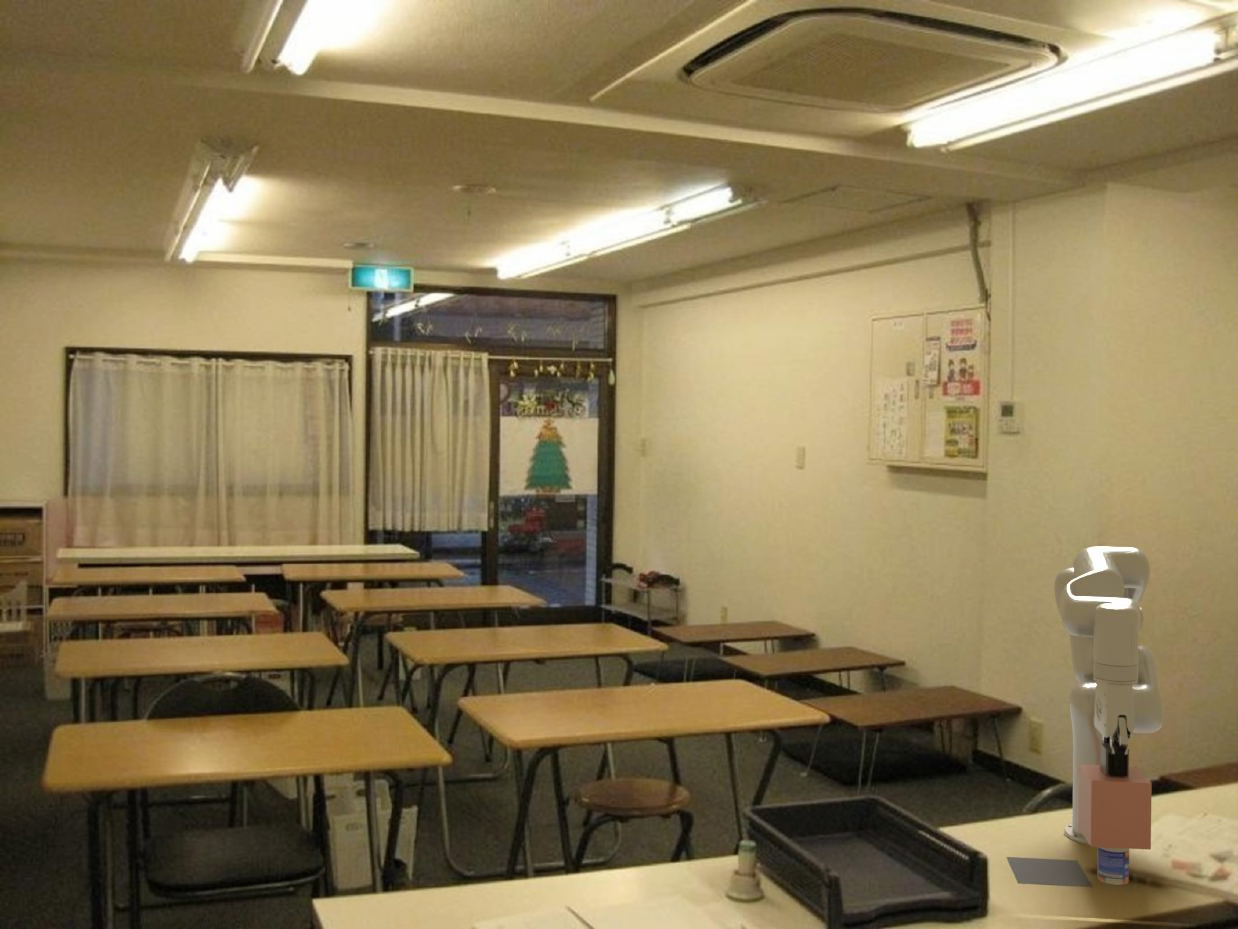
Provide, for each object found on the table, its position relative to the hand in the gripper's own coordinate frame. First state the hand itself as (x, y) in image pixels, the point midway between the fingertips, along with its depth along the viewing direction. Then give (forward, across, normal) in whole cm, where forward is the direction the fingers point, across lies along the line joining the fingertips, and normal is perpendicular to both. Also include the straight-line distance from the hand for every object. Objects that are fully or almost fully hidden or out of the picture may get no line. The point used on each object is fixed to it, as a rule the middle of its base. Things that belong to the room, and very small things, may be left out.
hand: (1114, 770), depth 222 cm
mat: (+21, -2, -11) cm, 23 cm away
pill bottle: (+21, 0, 0) cm, 21 cm away
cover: (+12, 0, 0) cm, 12 cm away
